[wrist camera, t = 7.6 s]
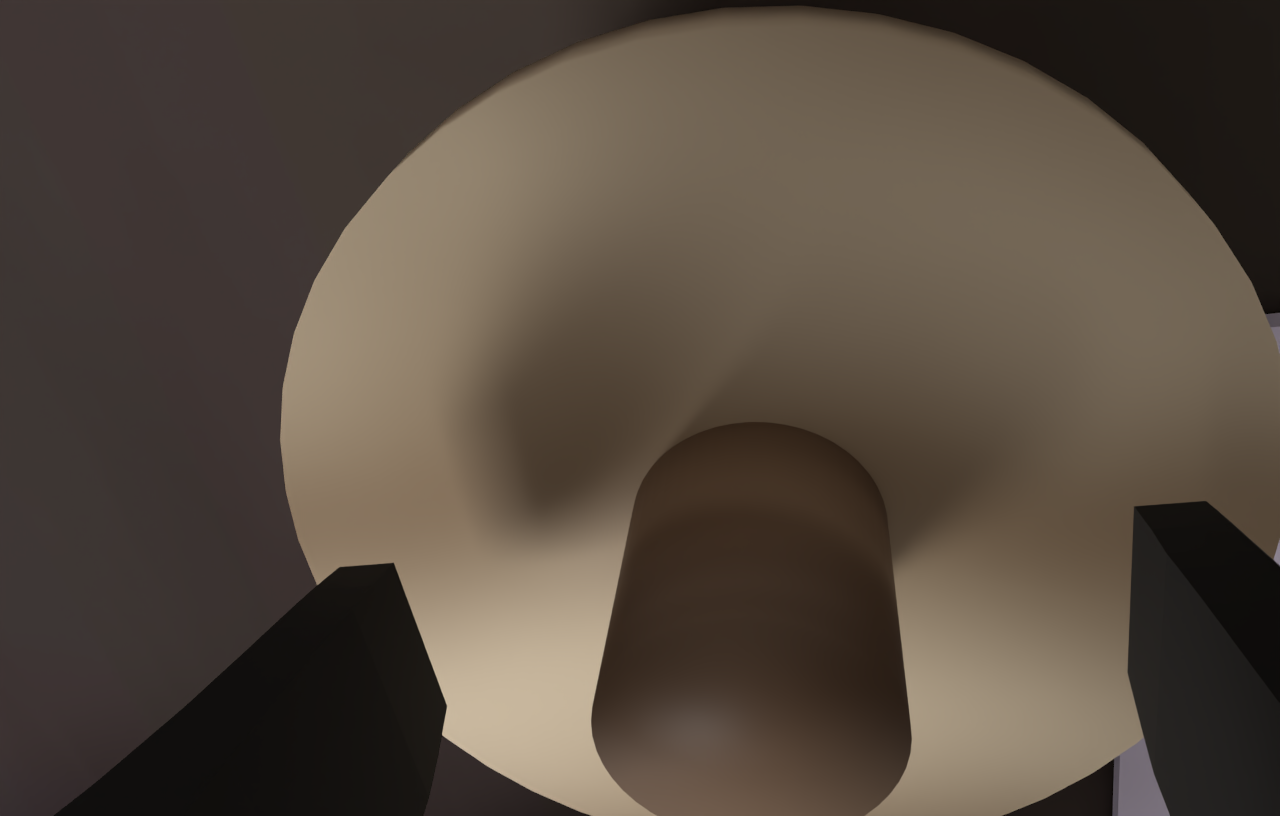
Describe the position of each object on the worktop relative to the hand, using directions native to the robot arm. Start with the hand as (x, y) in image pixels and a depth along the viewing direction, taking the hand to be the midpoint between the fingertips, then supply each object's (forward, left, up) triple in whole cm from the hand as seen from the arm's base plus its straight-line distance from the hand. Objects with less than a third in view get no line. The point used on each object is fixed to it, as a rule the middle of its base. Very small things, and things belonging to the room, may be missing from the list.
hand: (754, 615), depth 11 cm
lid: (0, 0, -3) cm, 3 cm away
